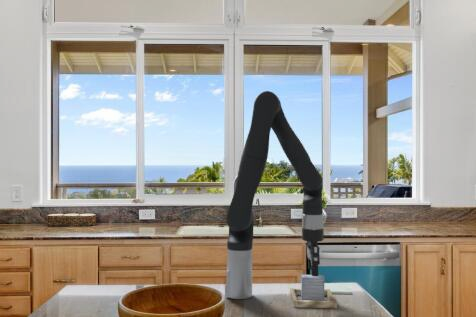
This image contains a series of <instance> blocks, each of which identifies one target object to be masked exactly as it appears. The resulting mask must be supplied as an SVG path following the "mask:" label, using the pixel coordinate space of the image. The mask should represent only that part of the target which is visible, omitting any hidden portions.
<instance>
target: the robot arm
mask: <svg viewBox="0 0 476 317" xmlns="http://www.w3.org/2000/svg"><path fill="white" fill-rule="evenodd" d="M250 122H251V123H250V127H249V131H248V133H247V137H246V140H245V143H244V147H243V150H242V154H241V158H240V161H239V166H238V171H237V176H236V177H237V178H236V182H235V189H234V191H233V196H232V198H231V201H230V205H229V206H228V209H227V212H226V217H225V222H226V225H227V227H228V237H227V244H226V246H227V247H226V256H227V257H226V286H225V287H226V288H225V289H226V293H225V294H226V295H225V296H226V298H227V299H228V298H229V299H233V300H246V299H250V298H252V296H253V242H254V212H253V205H254V204H253V203H254V198H255V196H256V193H257V190H258V188H259V185H260V184H261V182H262V178H263V176H264V173H265V169H266V166H267V161H268V156H269V147H270V146H269V145H270V137H271V136H270V134H271V130H272V131H273V133H274V134H275V136H276V138H277V140H278V143H279V144H280V147H281V149H282V150H283V153H284V154H285V156H286V158H287V159H288V161H289V163H290V165H291V166H292V168H294V171H295V172H296V175H297V177H298V179H299V180H300V181H299V182H300V183H301V185H302V186H303V187H302V188H303V199H302V217H301V218H302V219H301V238H302V239H301V240H303V241H304V242H306V256H307V260H308V263H307V264H308V266H307V267H308V270H309V271H311V275H312V276H318V275H319V265H320V259H321V258H320V246H319V245H318V242H323V241H324V238H325V236H324V230H325V229H324V226H325V225H324V216H323V215H324V214H323V213H324V211H323V210H324V207H323V198H322V197H323V177H322V175H321V173H319V171H318V169H317V168H316V166H315V165H314V164H313V162H312V160H311V157H310V155H309V153H308V151H307V150H306V148H305V146H304V144H303V143H302V141H301V140H300V139H299V136H297V134H296V133H295V131H294V130H293V128H292V127H291V125H290V123H289V121H288V119H287V117H286V114H285V113H284V109H283V107H282V103H281V100H280V98H279V97H278V96H277V95H276V94H275V93H274V92H273V91H269V90H265V91H262V92H260V93H259V94H257V96H256V97H255V99H254V102H253V109H252V117H251V121H250Z"/></svg>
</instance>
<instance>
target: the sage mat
mask: <svg viewBox="0 0 476 317" xmlns="http://www.w3.org/2000/svg"><path fill="white" fill-rule="evenodd" d="M324 289H330V291H331V293H332V294H333V295H352V291H351V289H350V288H349V287H348V286H347V284H346V283H333V282H331V283H329V282H324Z"/></svg>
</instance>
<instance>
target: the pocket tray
mask: <svg viewBox="0 0 476 317" xmlns="http://www.w3.org/2000/svg"><path fill="white" fill-rule="evenodd" d="M289 293H290V298H291V301H292V305H293V308H307V309H308V308H311V309H312V308H313V309H316V308H317V309H338V301H337V299H336V298H335V296H334V294H332V293H331V291H330V289H324V297H325V296H326V297H327V298H328V300H324V301H314V300H301V299H298V298H297V296H301V288H290V292H289Z"/></svg>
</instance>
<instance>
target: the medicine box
mask: <svg viewBox="0 0 476 317" xmlns="http://www.w3.org/2000/svg"><path fill="white" fill-rule="evenodd" d="M324 283H325V277H324V275H322V274H318V276H312V274H301V276H300V289H301V295H300V296H301V297H300V300H314V301H325V296H324Z"/></svg>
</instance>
